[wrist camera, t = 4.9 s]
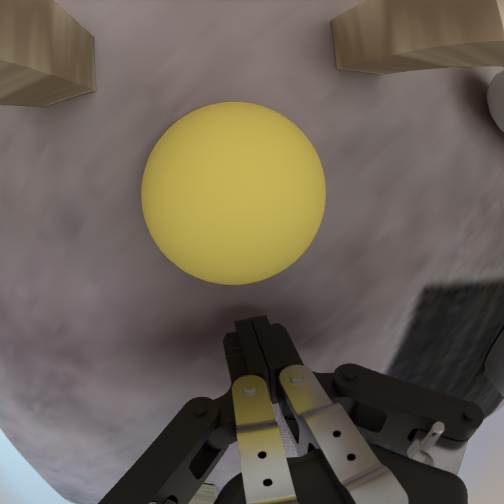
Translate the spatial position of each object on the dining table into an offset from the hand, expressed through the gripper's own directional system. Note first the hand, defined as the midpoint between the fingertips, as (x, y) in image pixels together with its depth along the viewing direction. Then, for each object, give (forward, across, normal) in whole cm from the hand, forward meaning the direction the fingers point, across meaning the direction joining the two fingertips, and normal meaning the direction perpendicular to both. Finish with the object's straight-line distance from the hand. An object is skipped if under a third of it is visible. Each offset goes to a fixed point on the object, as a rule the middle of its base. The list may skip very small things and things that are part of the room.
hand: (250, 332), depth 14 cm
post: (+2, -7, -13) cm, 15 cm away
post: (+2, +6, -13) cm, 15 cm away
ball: (-2, 0, -7) cm, 7 cm away
